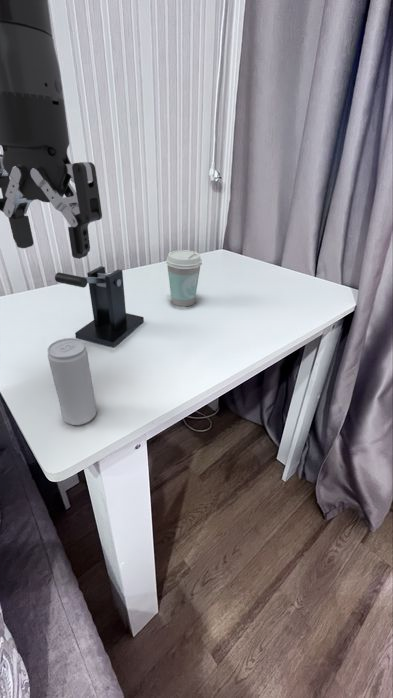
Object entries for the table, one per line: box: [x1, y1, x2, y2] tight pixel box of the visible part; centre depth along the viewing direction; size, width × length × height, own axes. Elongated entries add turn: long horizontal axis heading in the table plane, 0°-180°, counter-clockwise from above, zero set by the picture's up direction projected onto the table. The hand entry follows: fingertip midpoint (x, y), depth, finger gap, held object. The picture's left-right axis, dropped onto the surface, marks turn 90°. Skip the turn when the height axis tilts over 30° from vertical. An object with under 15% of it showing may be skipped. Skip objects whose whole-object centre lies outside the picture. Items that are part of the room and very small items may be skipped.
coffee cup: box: [165, 249, 203, 307], centre depth 80 cm, size 8×8×12 cm
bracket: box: [74, 265, 145, 348], centre depth 67 cm, size 12×9×13 cm
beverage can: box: [47, 337, 98, 426], centre depth 46 cm, size 5×5×12 cm
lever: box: [54, 271, 110, 289], centre depth 60 cm, size 12×5×2 cm, turn 159°
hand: (52, 251), depth 42 cm, fingers open, 8 cm apart
